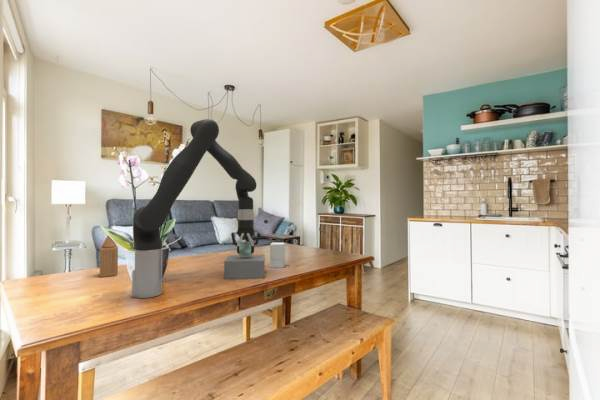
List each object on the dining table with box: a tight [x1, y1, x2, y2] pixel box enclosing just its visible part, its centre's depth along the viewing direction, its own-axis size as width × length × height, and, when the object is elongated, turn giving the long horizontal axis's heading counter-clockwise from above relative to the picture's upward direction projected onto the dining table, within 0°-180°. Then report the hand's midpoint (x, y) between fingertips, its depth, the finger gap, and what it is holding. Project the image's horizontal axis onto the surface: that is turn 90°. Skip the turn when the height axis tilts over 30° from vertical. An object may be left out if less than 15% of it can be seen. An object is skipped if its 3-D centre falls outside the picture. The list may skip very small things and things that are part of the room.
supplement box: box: [269, 242, 286, 269], centre depth 161 cm, size 7×7×13 cm
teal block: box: [238, 242, 252, 256], centre depth 143 cm, size 6×6×6 cm
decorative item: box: [99, 235, 119, 278], centre depth 140 cm, size 7×7×20 cm
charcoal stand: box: [223, 253, 266, 280], centre depth 143 cm, size 18×16×8 cm
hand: (245, 253), depth 143 cm, fingers closed on teal block, 5 cm apart
